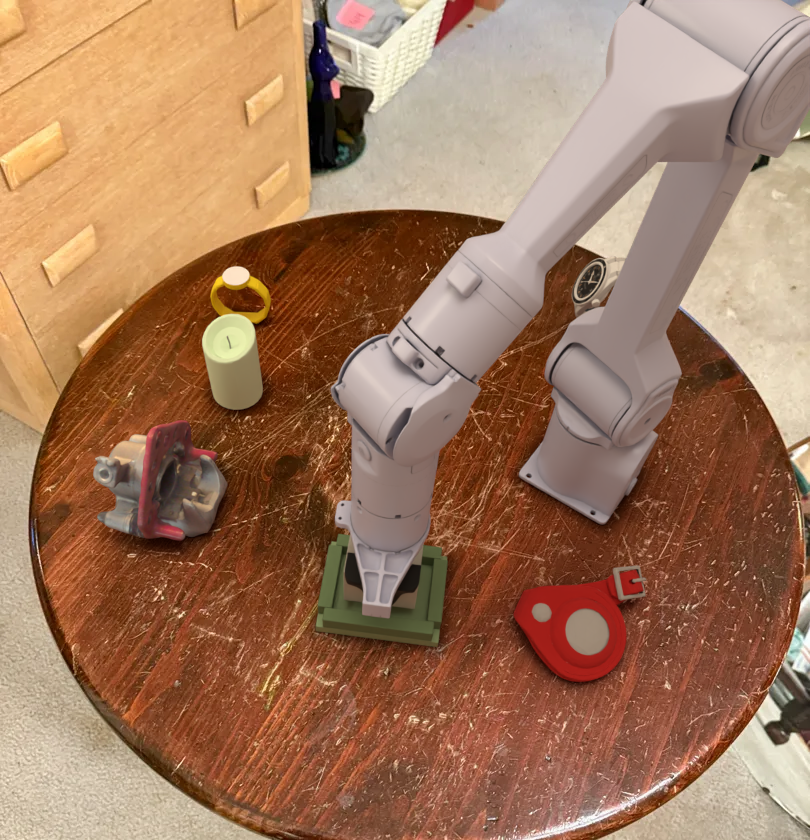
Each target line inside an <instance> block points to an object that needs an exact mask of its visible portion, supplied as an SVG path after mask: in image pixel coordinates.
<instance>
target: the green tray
mask: <svg viewBox="0 0 810 840" xmlns="http://www.w3.org/2000/svg"><path fill="white" fill-rule="evenodd" d="M349 538H350V534H344V533H338V534H337V538H336V541H332V540H331V543H330V544H328V548H327V554H326V559H325V565H324V569H323V573H322V574H323V575H322V580H321V585H320V591H319V596H318V602H317V617H316V622H315V632H319V633H327V634H335V635H342V636H349V637H357V638H365V639H373V640H381V641H387V642H388V641H389V642H395V643H403V644H411V645H419V646H426V647H432V648H433V647H434V648H438V647H439V642H440V631H441V625H442V620H443V612H444V601H445V593H446V592H445V591H446V582H447V572H448V563H449V561H448V556H446V555H442V554H443V553H442V552H443V547H442V546H436V545H435V546H434V545H427V544H424V545H423V554H422V562H421V573H420V581H419V585H418V591H417V597H416V603H415V609H409V608H402V607H394V606H391V613H390V618H382V617H373V616H366V615H362V604H363V602H356V601H349V600H344V566H345V561H346V555H347V549H348V544H349Z"/></svg>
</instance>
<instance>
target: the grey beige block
mask: <svg viewBox="0 0 810 840" xmlns="http://www.w3.org/2000/svg"><path fill="white" fill-rule="evenodd" d="M349 535H350V534H349ZM423 545H425V544H423ZM423 545H422V547H421V549H420V551H419V552H418V554H417V556H416V557H415V559H414V561H413V563H412V564H416V565H421V562H422V554H423ZM348 552H350V553H355V552H354V548H353V543H352V539H351V535H350V538H349V544H348V549H347V553H348ZM346 559H347V555H346ZM345 565H346V561H345ZM417 591H418V587H417V589H416V591H415V592H414V593H405V594H402V595H401V596H400V597H399V598H398V600H397V601H396V602H395V603H394V604H393V605H392V606H394V607H402V608H409V609H415V603H416V597H417ZM344 600H349V601H356V602H363V592H362V590H360V589H359V588H357V587H355V586H352V585H349V584H347V582H346V579H345V566H344Z"/></svg>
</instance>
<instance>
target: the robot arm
mask: <svg viewBox="0 0 810 840" xmlns="http://www.w3.org/2000/svg"><path fill="white" fill-rule="evenodd" d="M609 38H610V39H609V42H608V46H607V51H606V58H605V79H604V80H603V82H602V83H601V85H600V86H599V88H598V89H597V90H596V92H595V93H594V95H593V96H592V98H591V99H590V101H588V103H587V104H586V106H585V108H584V109H583V110H582V112H581V113H580V115H579V116H578V117H577V119H576V120H575V122H574V124H573V125H572V126H571V128H570V129H569V131H568V132H567V133H566V135H565V136H564V138H563V139H562V140H561V142H560V143H559V144H558V146H557V147H556V149H555V150H554V152H553V153H552V155H551V156H550V157H549V159H548V161H547V162H546V164H545V165H544V166H543V168H542V169H541V170H540V172H539V173H538V175H537V176H536V177H535V179H534V181H533V182H532V183H531V185H530V186H529V187H528V189H526V192H525V193H524V195H523V196H522V198H521V199H520V200H519V201H518V203H517V205H516V206H515V207H514V209H513V210H512V212H511V213H510V215H509V217H508V218H506V221H505V222H503V224H502V226H501V227H500V229H499V230H496V231H495V232H491V233H486V234H482V235H476V236H472V237H469V238H468V237H467V238H466V240H465V241H464V242H463V243H462V244H461V246H459V248H458V250H456V252H455V253H454V254H453V255H452V256H451V258H450V259H449V260H448V261H447V263H445V265H444V266H443V268H442V269H441V270H440V272H438V274H437V275H436V276H435V277H434V279H432V281H431V282H430V284H429V285H427V287H426V289H424V291H423V292H422V293H421V294H420V296H419V297H418V299H417V300H416V301H415V302H414V303H413V305H411V307H410V308H409V309H408V310H407V312H406V313H405V314H404V315H403V317H402V318H401V319H400V321H398V323H397V324H396V325H395V327H394V328H393V329H392V330H391V332H390V333H381V334H377V335H374V336H372V337H370V338H368V339H366V340H365V341H363V342H362V343H360V344H359V345H358V346H357V347H356V348H354V350H353V351H351V353H349V354H348V356H347V358H346V359H345V360H344V362H343V364H342V366H341V368H340V370H339V373H338V377H337V381H336V382H335V383H334V384H333V385H331V387H330V394H331V398H332V399H333V401H334V402H335V403H336V404H337V406H339V408H340V409H342V410H343V411H346V412H347V423H348V424H349V425H350V426H351V479H350V480H351V490H350V491H351V493H350V495H351V496H350V500H346V499H345V500H344V499H343V500H340V501H339V502H337V505H336V509H335V515H334V524H335V526H336V527H337V528H339V529H346V530H347V531H348V532H349V535H351V539H352V543H353V548H354V552H355V553H350V552H348V553H347V559H346V565H345V579H346V582H347V584H349V585H352V586H355V587H357V588H359V589H360V590H362V592H363V604H362V615H366V616H373V617H382V618H390V613H391V606H392V605H393V604H394V603H395V602H396V601H397V600H398V598H399V597H400V596H401V595H402V594H405V593H414V592H415V591H416V589H417V587H418V585H419V581H420V573H421V565H416V564H412V563H413V561H414V559H415V557H416V556H417V554H418V552H419V551H420V549H421V547H422V545H423V544H424V543H425V542H426V540H427V538H428V536H429V533H430V529H431V519H432V518H431V505H432V499H433V495H434V487H435V481H436V477H437V476H436V475H437V469H438V464H439V458H440V457H439V456H440V451H441V450H442V449H443V448H444V447H445V446H447V444H448V443H449V442H450V441H451V440H452V439H453V438H454V437H455V436H456V435H457V434H458V433H459V432H460V430H461V428H462V427H463V425H464V423H465V421H466V419H467V417H468V416H469V412H470V409H471V407H472V405H473V403H474V402H475V401H476V399H477V398H478V397H479V396H480V392H481V391H482V388H481V387H480V386H479V385H478V382H479V381H480V379H481V378H482V377H483V376H484V374H486V373H487V372H488V370H489V369H490V368H491V367H492V366H493V365H494V363H495V362H496V361H497V360H498V359H499V358H500V357H501V356H502V354H503V353H504V352H505V351H506V350H507V349H508V347H509V346H510V345H511V344H512V343H513V341H515V339H516V338H517V337H518V336H519V335H520V334H521V332H522V331H523V330H524V329H525V328H526V327H527V326H528V324H530V322H531V321H532V320H533V318H535V317H536V315H537V314H538V313H539V312H540V311H541V310H542V308H543V306H544V296H545V283H546V282H545V281H546V276H547V273H548V272H549V271H550V270H551V269H552V268H553V267H554V266H555V265H556V264H557V263H558V262H559V261H560V260H561V259H562V258H563V257H564V256H565V255H566V254H567V253H568V252H569V251H570V250H571V249H572V248H573V247H574V246H575V245H576V244H577V243H579V241H580V240H581V239H582V238H583V237H584V236H585V235H586V234H587V233H588V232H589V231H590V230H591V229H592V228H593V227H594V226H595V225H596V224H597V223H598V222H599V221H600V220H601V219H602V218H603V217H604V216H605V215H606V214H607V213H608V212H609V211H610V210H611V209H613V207H614V206H615V205H616V204H617V203H618V202H619V201H620V200H621V199H622V198H623V197H624V196H625V195H626V194H627V193H628V192H629V191H630V190H631V189H632V188H633V187H634V186H635V185H636V184H637V183H638V182H639V181H640V180H641V179H642V178H643V177H644V176H645V175H646V174H647V173H648V172H649V171H650V170H651V169H652V168H653V167H654V166H655V165H656V164H657V163H666V165H665V166H664V169H663V171H662V174H661V176H660V179H659V181H658V183H657V186H656V187H655V190H654V192H653V195H652V197H651V199H650V202H649V204H648V207H647V209H646V211H645V213H644V216H643V218H642V220H641V223H640V225H639V227H638V228H637V229H638V230H637V232H636V233H635V237H634V239H633V241H632V243H631V245H630V248H629V249H628V252H627V255H626V257H625V258H626V260H625V262H624V264H623V266H622V269H621V271H620V273H619V276H618V278H617V280H616V283H615V285H614V286H613V287H612V289H611V291H610V294H609V297H608V299H607V301H606V304H605V306H599V307H597V308H594V309H592V310H589V311H587V312H586V313H584V314H582V315H581V316H579V317H578V318H575V319H574V320H572V321H571V322H569V324H568V325H567V329H566V330H565V332H564V334H563V335H562V337H561V338H560V340H559V341H558V342H557V344H556V345H555V346H554V347H553V349H552V351H551V352H550V354H549V356H548V358H547V360H546V363H545V369H544V379H545V381H546V382H547V383H548V385H551V386H553V388H552V390H551V394H550V397H551V398H552V400H553V402H554V404H555V405H554V408H553V411H552V413H551V417H550V419H549V423H548V425H547V429H546V432H545V434H544V437H543V440H542V441H541V443H540V444H539V445H538V447H537V448H536V449H535V450H534V452H533V453H532V454H531V456H530V457H529V458H528V459H527V461H526V462H525V463H524V464H523V466H522V467H521V469H520V470H519V472H518V477H519V478H520V479H521V480H523V481H525V482H526V483H527V484H529V485H532V486H533V487H535V488H536V489H538V490H540V491H542V492H543V493H545V494H547V495H548V496H551V497H552V498H553V499H556V500H558V501H559V502H561V503H563V504H564V505H566V506H568V507H569V508H571V509H573V510H574V511H576V512H578V513H579V514H581V515H583V516H585V517H587V518H588V519H590V520H592V521H594V522H595V523H597V524H599V525H606V524H607V522H608V521H609V519H610V518H611V516H612V515H613V513H615V511H616V509H617V508H618V506H619V504H620V503H621V502H622V500H623V498H624V497H625V496H626V497H628V496H629V495H630V494H631V492H632V490H633V489H634V488H635V486H636V484H637V482H638V478H637V477H638V476H639V475H640V473H641V470H642V468H643V467H644V464H645V462H646V461H647V459H648V457H649V455H650V453H651V452H652V450H653V448H654V446H655V444H656V442H657V439H658V437H659V434H658V433H657V432H656V431H654V429H656V427H658V425H659V424H660V423H661V422H662V420H663V419H664V418H665V416H666V415H667V414H668V412H669V410H670V409H671V407H672V404H673V397H674V393H675V390H676V388H677V386H678V384H679V380H680V378H681V377H682V375H683V373H682V369H681V366H680V363H679V361H678V359H677V356H676V354H675V352H674V349H673V347H672V344H671V342H670V340H669V337H668V335H667V330H668V328H669V326H670V324H671V323H672V321H673V318H674V317H675V315H676V313H677V312H678V310H679V308H680V305H681V303H682V301H684V298H685V296H686V294H687V292H688V290H689V288H690V287H691V284H692V283H693V281H694V279H695V278H696V275H697V273H698V271H699V269H700V267H701V266H702V264H703V262H704V260H705V258H706V256H707V254H708V252H709V251H710V249H711V247H712V245H713V243H714V241H715V239H716V237H717V236H718V233H719V231H720V229H721V227H723V226H722V225H723V224H724V222H725V220H726V218H727V216H728V214H729V213H730V211H731V209H732V207H733V205H734V203H735V201H736V199H737V197H738V195H739V193H740V191H741V190H742V188H743V186H744V184H745V182H746V180H747V178H748V176H749V174H750V172H751V171H752V169H753V166H754V165H755V163H756V161H757V159H758V158H759V155H763V156H767V157H770V158H774V159H779V158H780V157H781V156H783V155H784V153H785V151H786V149H787V148H788V146H789V145H790V144H791V142H792V141H793V139H794V138H795V137H796V135H797V133H798V131H799V130H800V128H801V126H802V124H803V122H804V120H805V118H806V117H807V115H808V113H809V112H810V16H809V15H807V14H806V13H804V12H802V11H800V10H799V9H797V8H795V7H793V6H792V5H790V4H788V3H786V2H785V1H783V0H629V1H628V4H627V6H626V8H625V9H624V11H623V12H622V13H621V14H620V15H619V16H618V17H617V18H616V20H615V22H614V25H613V27H612V31H611V34H610V37H609ZM424 545H425V544H424Z"/></svg>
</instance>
